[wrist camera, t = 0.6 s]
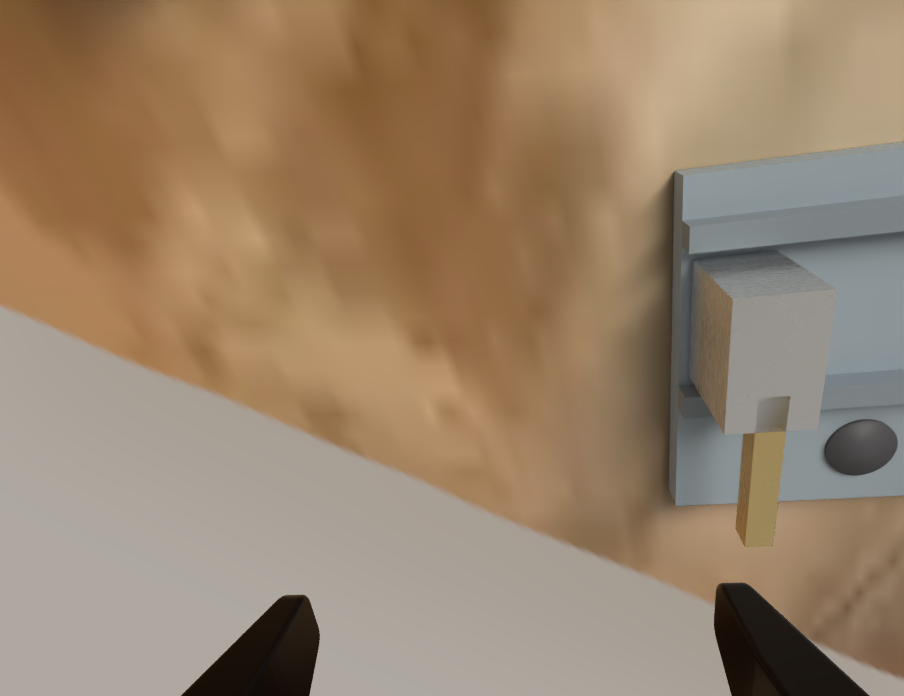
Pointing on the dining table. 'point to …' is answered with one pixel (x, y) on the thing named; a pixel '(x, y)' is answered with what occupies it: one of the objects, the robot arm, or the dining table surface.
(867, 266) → the board
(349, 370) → the dining table surface
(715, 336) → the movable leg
